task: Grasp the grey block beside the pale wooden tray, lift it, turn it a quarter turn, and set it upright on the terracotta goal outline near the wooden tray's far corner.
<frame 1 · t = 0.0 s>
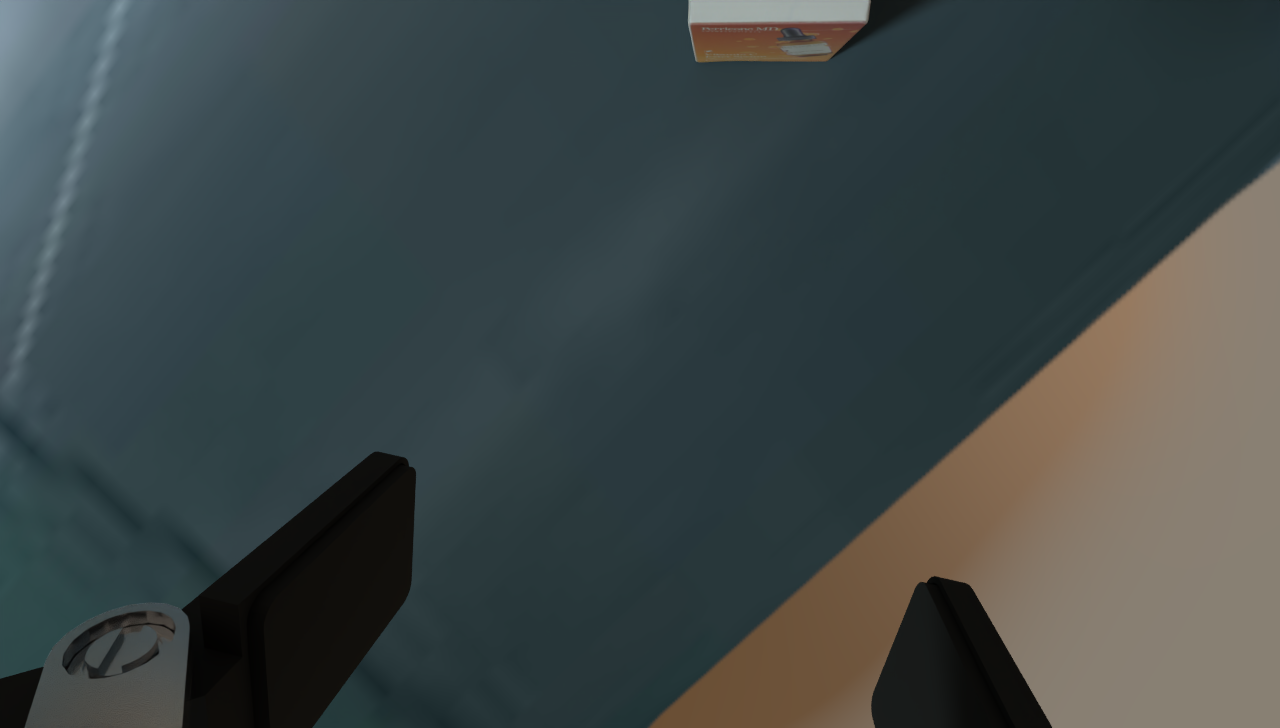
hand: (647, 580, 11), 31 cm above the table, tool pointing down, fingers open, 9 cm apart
small box: (765, 11, 35), on the table
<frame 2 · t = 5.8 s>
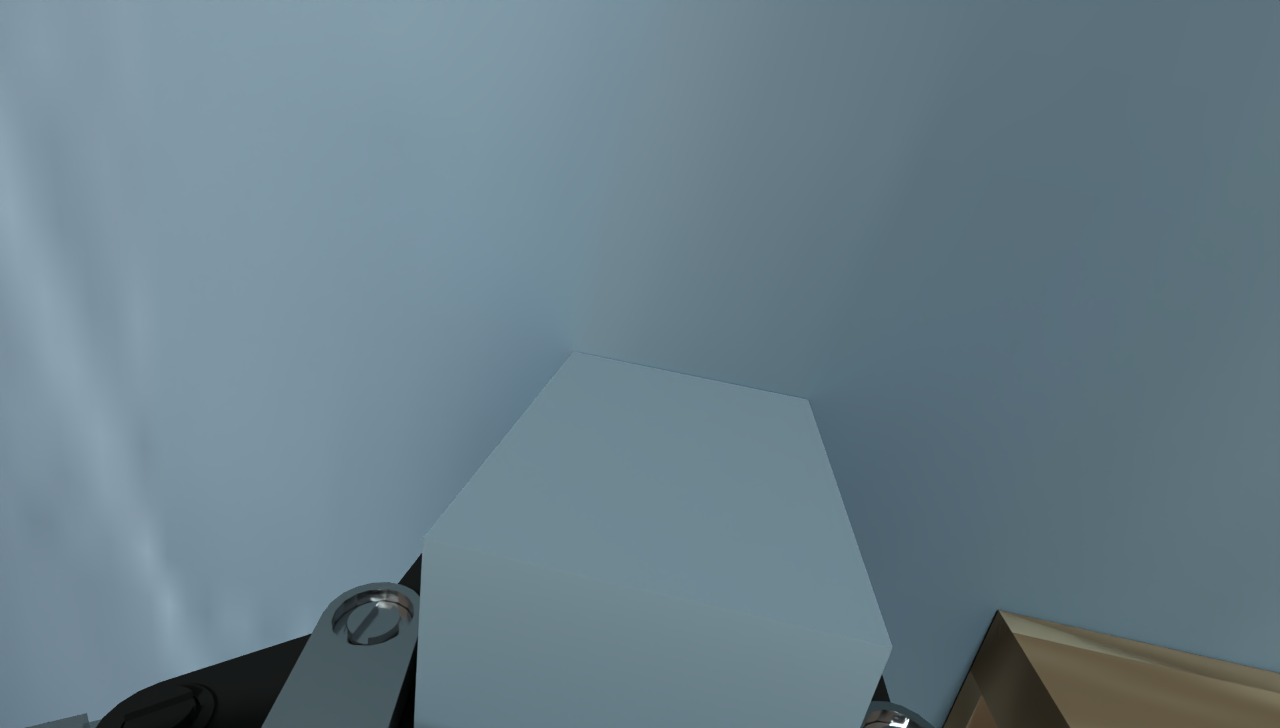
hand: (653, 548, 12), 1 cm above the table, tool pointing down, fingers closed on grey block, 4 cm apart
grey block: (656, 529, 12), on the table, touching gripper
when the fingers open (2 cm above the table, at t = 11.1 s): grey block stays where it is, resting on wooden tray.
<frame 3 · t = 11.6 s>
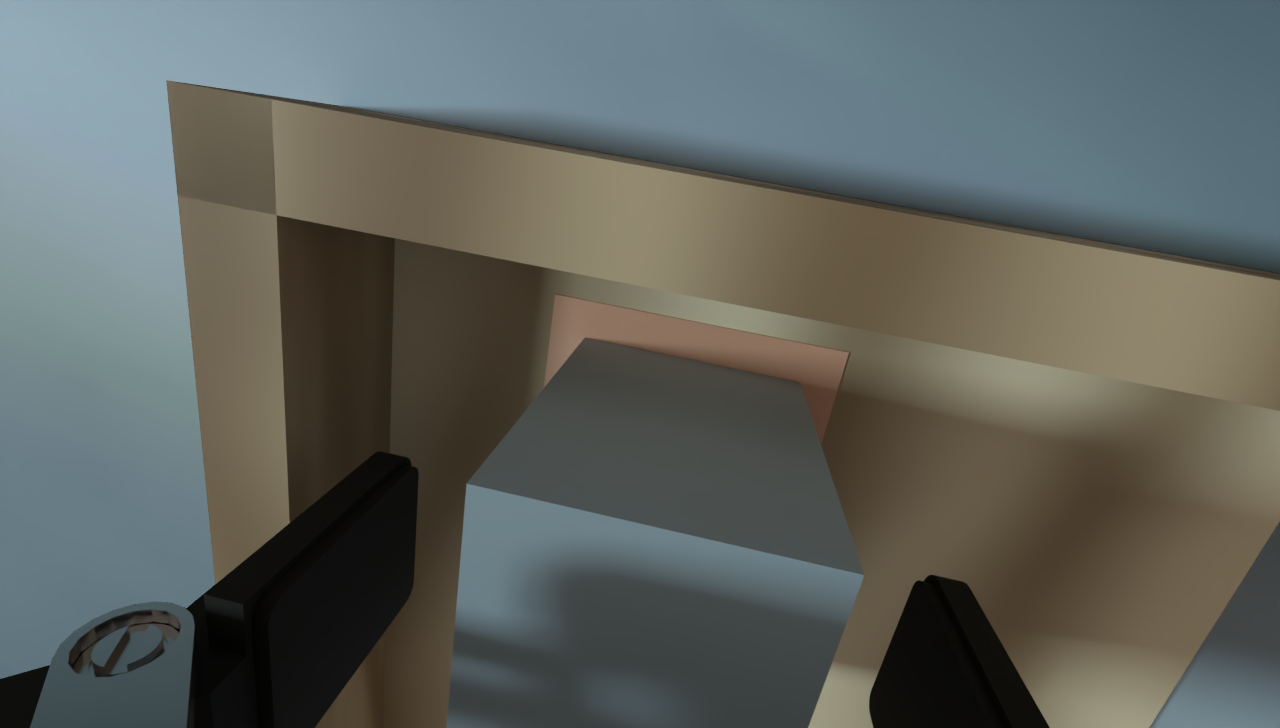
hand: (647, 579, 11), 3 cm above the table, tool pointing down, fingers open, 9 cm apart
wooden tray: (718, 603, 15), on the table
grey block: (660, 503, 13), point 1 cm above the table, touching wooden tray
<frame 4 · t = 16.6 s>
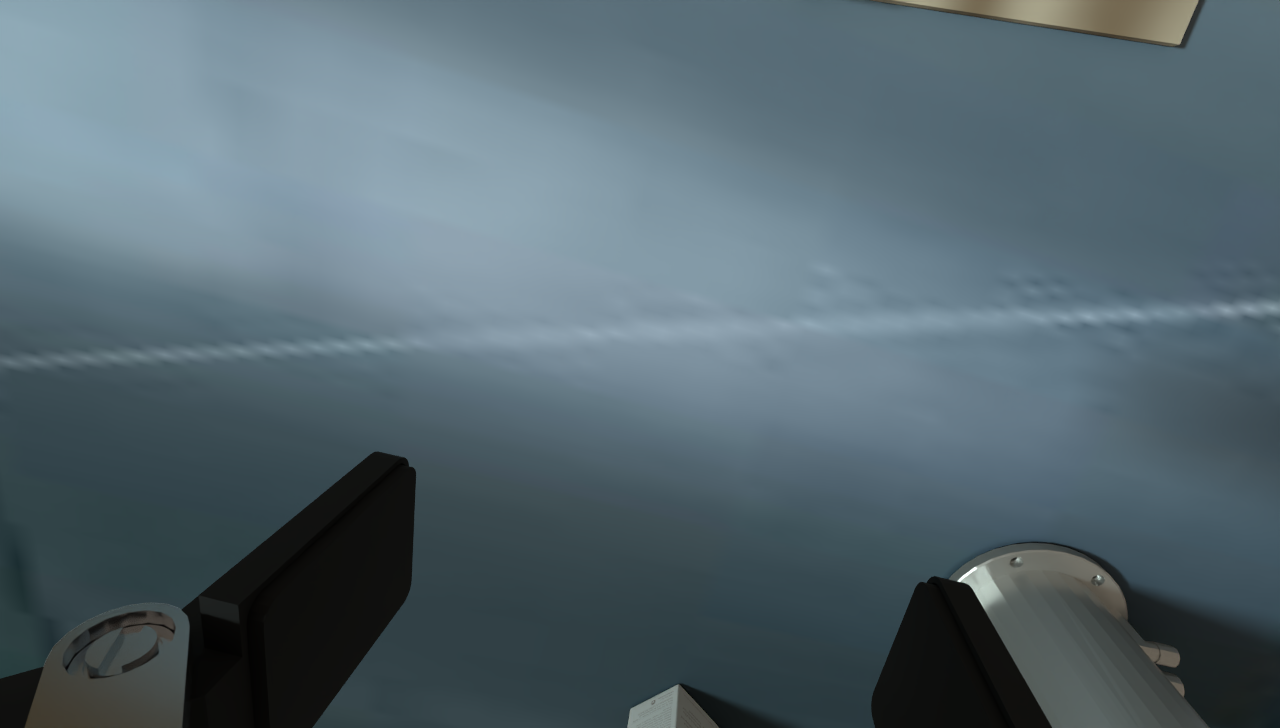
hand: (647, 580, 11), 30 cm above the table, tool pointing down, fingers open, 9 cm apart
small box: (682, 722, 52), on the table
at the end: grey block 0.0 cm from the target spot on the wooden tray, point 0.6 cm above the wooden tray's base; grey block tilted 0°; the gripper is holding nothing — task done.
